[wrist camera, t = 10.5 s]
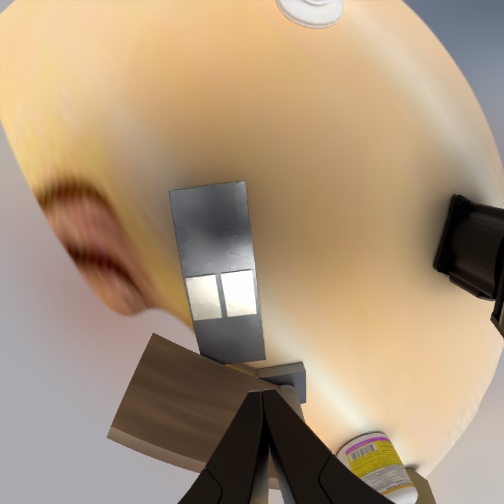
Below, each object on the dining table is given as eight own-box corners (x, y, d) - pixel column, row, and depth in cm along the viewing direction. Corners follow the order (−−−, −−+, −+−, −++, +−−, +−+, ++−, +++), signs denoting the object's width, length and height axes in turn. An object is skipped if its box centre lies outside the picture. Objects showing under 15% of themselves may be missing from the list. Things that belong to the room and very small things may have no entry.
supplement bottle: (367, 463, 27) (398, 539, 15) (324, 463, 26) (349, 551, 14) (398, 430, 26) (442, 509, 13) (354, 429, 25) (395, 525, 12)
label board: (289, 175, 18) (293, 175, 17) (303, 393, 23) (306, 404, 21) (173, 190, 18) (168, 191, 17) (217, 404, 23) (216, 415, 21)
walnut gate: (155, 328, 19) (111, 424, 10) (301, 388, 21) (329, 483, 12) (146, 348, 19) (104, 443, 10) (287, 405, 21) (308, 498, 12)
